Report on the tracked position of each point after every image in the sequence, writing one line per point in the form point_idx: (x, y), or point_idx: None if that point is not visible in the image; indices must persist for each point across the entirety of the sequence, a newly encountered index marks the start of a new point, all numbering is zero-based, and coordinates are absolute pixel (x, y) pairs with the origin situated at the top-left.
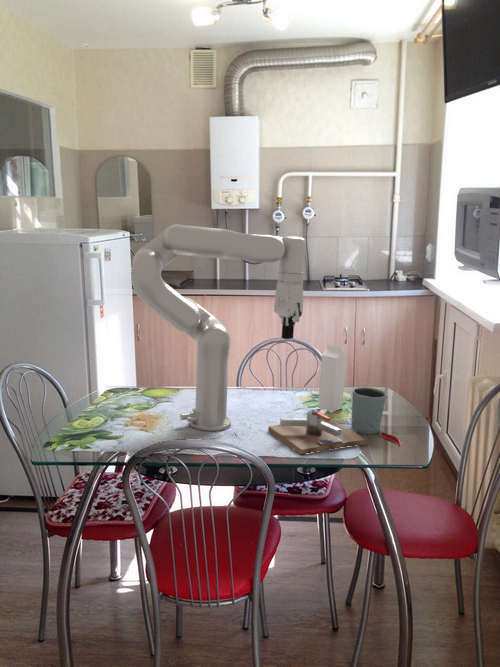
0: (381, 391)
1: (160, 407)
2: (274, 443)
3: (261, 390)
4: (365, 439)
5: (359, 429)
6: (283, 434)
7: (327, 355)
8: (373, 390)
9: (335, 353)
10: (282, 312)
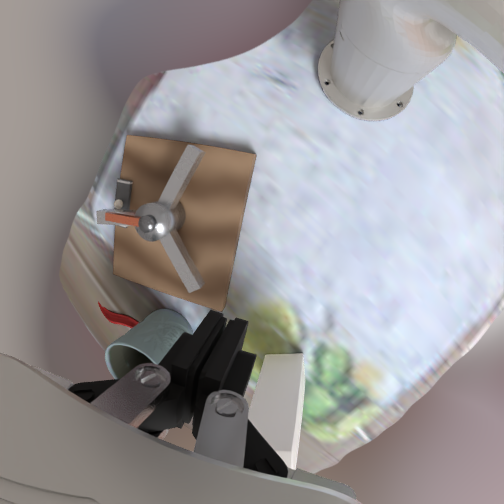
0: None
1: (493, 76)
2: (196, 123)
3: (459, 337)
4: (113, 271)
5: (158, 310)
6: None
7: None
8: None
9: None
10: (73, 436)
